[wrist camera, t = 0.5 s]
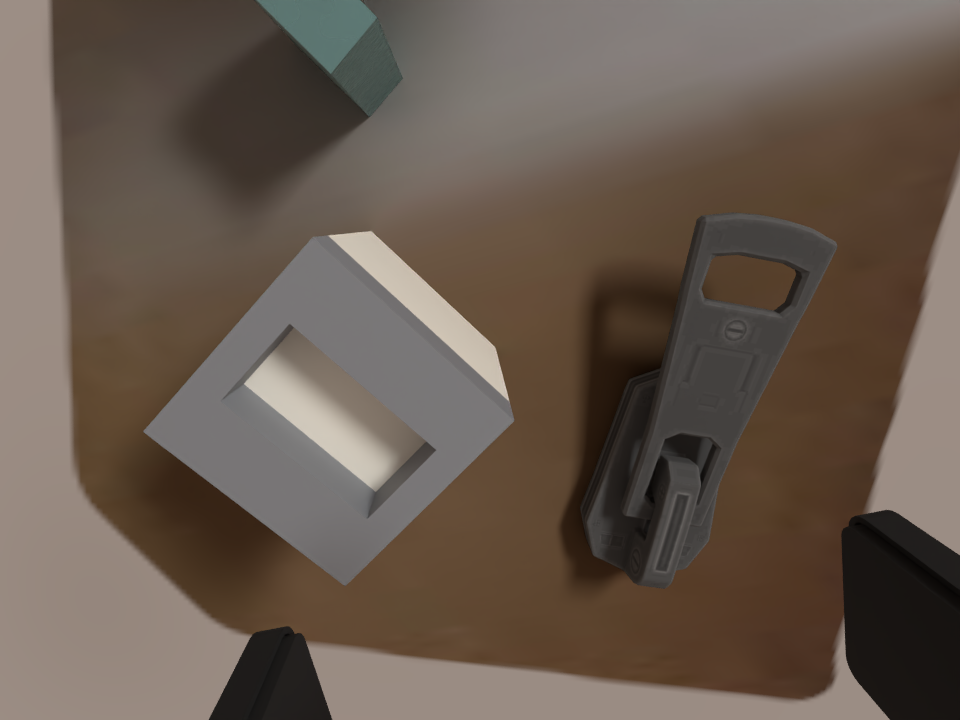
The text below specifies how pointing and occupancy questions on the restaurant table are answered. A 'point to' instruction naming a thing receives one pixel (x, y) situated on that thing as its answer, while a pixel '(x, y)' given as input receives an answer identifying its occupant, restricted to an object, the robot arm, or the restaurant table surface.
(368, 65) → the teal block
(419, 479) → the white slotted box
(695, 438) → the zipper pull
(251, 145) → the restaurant table surface
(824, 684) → the restaurant table surface
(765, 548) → the restaurant table surface
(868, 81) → the restaurant table surface
